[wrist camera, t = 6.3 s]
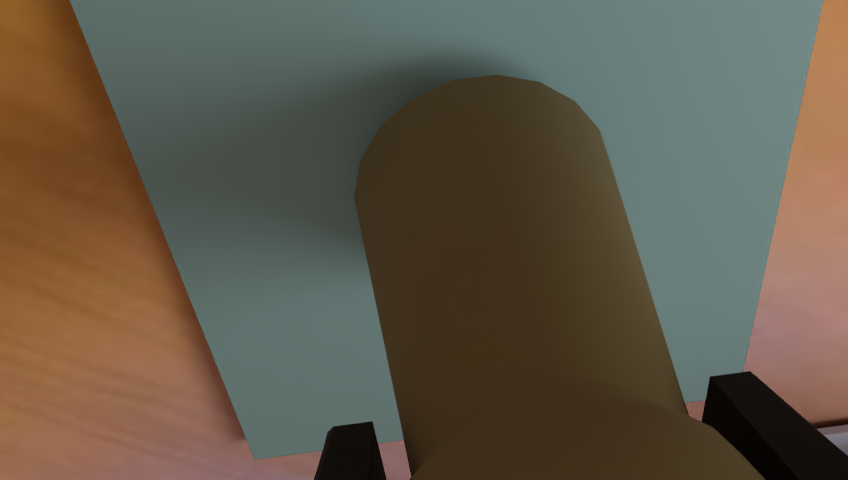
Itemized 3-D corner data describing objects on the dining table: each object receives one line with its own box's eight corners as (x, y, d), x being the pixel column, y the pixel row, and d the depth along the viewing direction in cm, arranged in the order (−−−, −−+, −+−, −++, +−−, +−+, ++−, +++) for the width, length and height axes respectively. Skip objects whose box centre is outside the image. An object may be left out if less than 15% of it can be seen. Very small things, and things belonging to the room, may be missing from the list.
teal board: (727, 378, 23) (737, 395, 22) (257, 439, 23) (254, 459, 22) (861, -300, 13) (889, -305, 12) (16, -183, 13) (-4, -181, 12)
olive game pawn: (356, 297, 17) (340, 870, 8) (351, 72, 14) (313, 647, 5) (586, 294, 18) (803, 835, 9) (637, 76, 14) (1083, 608, 5)
